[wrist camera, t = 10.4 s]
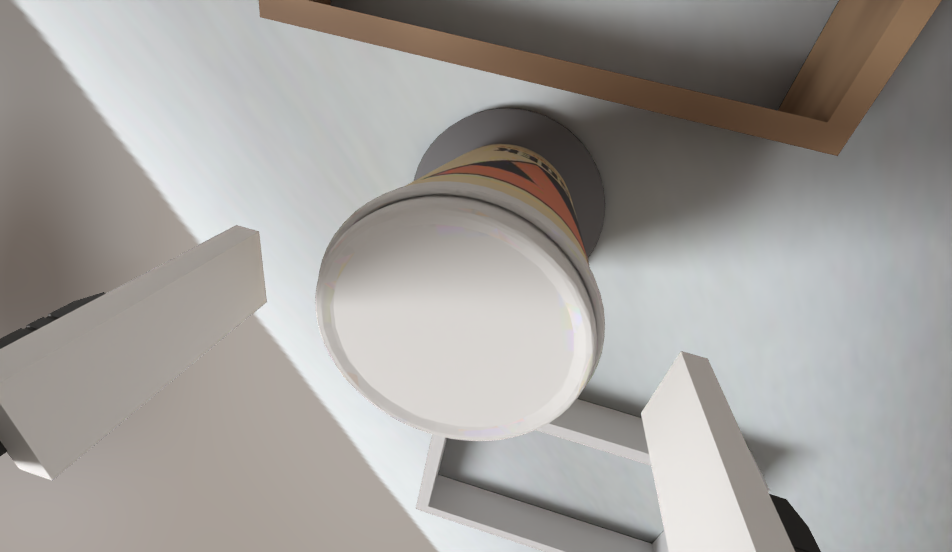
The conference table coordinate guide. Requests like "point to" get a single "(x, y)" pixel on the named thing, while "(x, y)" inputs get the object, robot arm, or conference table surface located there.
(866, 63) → the frame
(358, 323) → the coffee cup
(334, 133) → the conference table surface
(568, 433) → the gray rectangular frame
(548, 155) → the coaster
